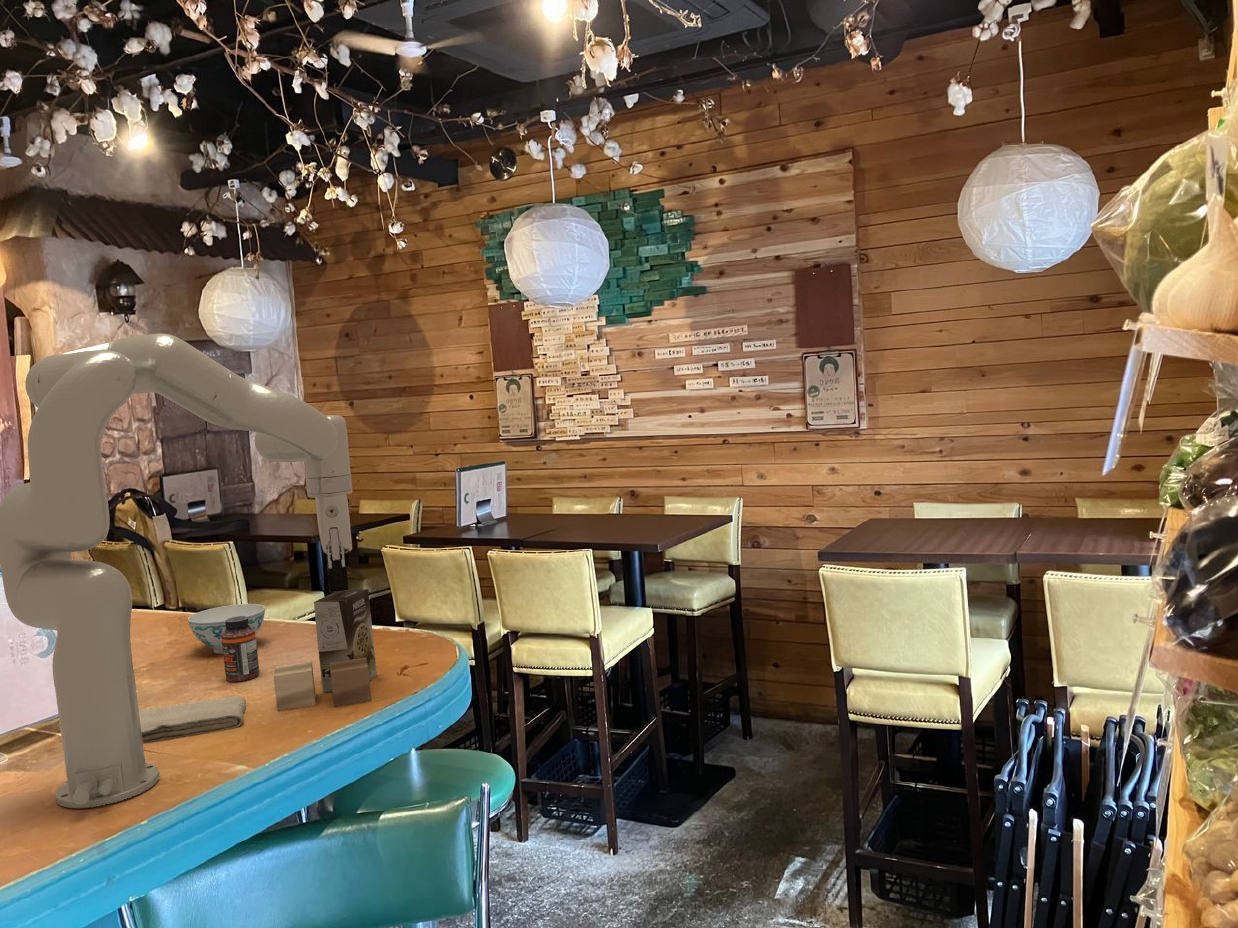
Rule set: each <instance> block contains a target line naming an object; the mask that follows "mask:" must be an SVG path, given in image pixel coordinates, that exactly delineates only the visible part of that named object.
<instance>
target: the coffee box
mask: <svg viewBox="0 0 1238 928" xmlns="http://www.w3.org/2000/svg"><path fill="white" fill-rule="evenodd" d="M369 595H370V594H369V589H368V588H367V589H363V588H362V589H360V588H359V589H348V590H344V591H336V592H331V593H330V594H328V595H326V596H324V597H321V598H319V599H318V600H317V599H316V601H313V607H314V609H313V610H314V618H315V630H316V637H317V650H318V658H319V668H320V669H319V670H320V677H321V678H320V679H321V689H322V692H333V691H332V682H331V673H330V663H333V662H339V661H346V660H352V659H359V658H365V657H366V658H367V664H368V672H369V682H370V681H371V680H373V679H374V678H375V677H376V676H377V674H378V673H377V672H378V671H377V662H376V653H375V645H374V642H375V641H374V634H373V623H372V615H371V603H370V596H369Z"/></svg>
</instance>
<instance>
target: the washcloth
mask: <svg viewBox="0 0 1238 928" xmlns="http://www.w3.org/2000/svg"><path fill="white" fill-rule="evenodd" d="M246 701H247V700H246V698H245V697H244V696H229V697H228V696H227V697H224V698H223V697H221V698H217V699H215V698H214V699H204V700H198V701H193V702H186V703H178V704H174V705H167V706H161V707H153V708H147V709H141V710H139V716H140V723H141V731H142V739H143V742H145V743H152V742H157V741H158V742H159V741H164V740H170V739H177V738H183V737H189V736H194V735H200V734H206V733H211V732H218V731H219V732H220V731H225V730H232V729H237V728H239V727H240V726H241V725H242V724H243V723H244V719H245V718H244V714H245V711H246V704H247V702H246Z"/></svg>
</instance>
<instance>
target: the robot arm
mask: <svg viewBox="0 0 1238 928" xmlns="http://www.w3.org/2000/svg"><path fill="white" fill-rule="evenodd" d="M24 383H25V384H24V385H25V387H24V388H25V390H26V391H25V392H26V395H27V397H28V398H29V401H31V403H32V404H33V405H34V406H35V407H37V409H36V412H35V414H34V415H33V417H32V420H31V424H30V426H29V430H28V435H27V459H28V472H29V481H30V482H26V483H24V484H20V485H18V486H16V487H14V488H12V489H11V490H10V491H8V492H7V493H6V494H5V496H4V497H3V499H2V500H1V502H0V572H1V579H2V586H3V592H4V596H5V600H6V603H7V605H8V608H9V610H10V612H11V613H12V615H13V616H14V618H15V619H17V620H18V621H20V623H22V624H24V625H26V626H29V627H31V628H35V629H41V630H42V629H43V630H52V631H56V633H57V634H56V641H55V646H54V650H53V653H52V654H53V655H52V664H51V665H52V679H53V686H54V689H55V690H54V691H55V698H56V705H57V707H56V708H57V712H58V714H57V715H58V720H59V728H60V736H61V744H62V750H63V758H64V765H65V773H66V779H67V781H66V782H64V783H63V784H62V785H61V786H60V787H58V789H57V790H56V792H55V798H56V803H57V804H58V805H59V806H61V807H65V808H68V809H69V808H70V809H88V808H89V807H90V808H96V806H97V807H102V806H101V805H103V806H106V805H105V804H108V805H110V803H111V804H115V803H118V801H119V802H121V801H124V799H125V800H127V798H128V799H130V798H133V797H136V796H137V795H139V794H143V793H144V792H145V791H147V790H149V789H151V788H152V787H153V786H155V785H156V784H157V782H158V781H159V779H160V776H161V775H160V769H159V767H158V766H157V765H155V764H153V763H149V762H146V757H145V749H144V743H143V739H142V731H141V723H140V716H139V711H140V710H139V709H140V708H139V701H138V694H137V693H138V692H137V687H136V685H137V684H136V679H135V678H136V677H135V670H134V664H133V663H134V661H133V654H132V642H131V624H132V623H131V621H132V609H133V595H132V588H131V585H130V583H129V580H128V579H127V577H125V575H124V574H123V573H122V572H121V571H120V570H119V569H117V568H116V567H114V566H112V565H110V564H107V563H104V562H101V561H95V560H79V559H77V560H76V559H73V557H72V553H75V552H84V551H89V550H92V549H93V548H96V547H98V546H99V545H100V544H102V542H104V540H105V539H106V537H107V535H108V533H109V530H110V518H111V517H110V510H109V509H110V508H109V503H108V495H107V488H106V481H105V475H104V467H103V459H102V458H103V457H102V454H103V453H102V440H103V435H104V433H105V429H106V427H107V425H108V423H109V422H110V420H111V419H112V418H113V417H114V415H115V414H116V412H117V411H118V410H120V409H121V408H122V407H123V406H124V405H125V404H126V403H127V402H128V401H129V400H130V399H131V396H132V395H137V394H138V395H139V394H146V393H147V394H148V393H153V394H154V393H155V394H157V395H160V396H162V397H164V398H165V399H167V400H169V401H171V402H173V403H174V404H176V405H178V406H179V407H181V408H183V409H185V410H187V411H188V412H190V413H192V414H193V415H195V416H196V417H198V418H200V419H202V420H204V421H205V422H207V423H210V424H212V425H215V426H219V427H222V428H227V429H232V430H239V431H246V432H247V431H248V432H253V433H255V435H254V447H255V449H256V451H257V452H258V454H259V455H260V456H261V457H263V458H264V459H265V460H268V461H271V462H274V463H299V462H301V463H302V462H304V470H305V481H306V482H305V483H306V491H307V493H306V494H307V497H308V498H314V500H315V510H316V517H317V518H316V520H317V527H318V533H319V538H320V539H319V540H320V544H321V547H322V551H323V554H327V563H328V567H327V577H328V588H329V592H330V593H334V592H336V591H346V590H349V579H348V569H347V565H346V563H345V551H344V550H348V552H351V551H352V550H353V542H352V533H351V531H352V530H351V520H350V519H351V518H350V509H349V502H348V497H347V495H349V494H352V493H353V483H352V474H351V473H352V472H351V471H352V470H351V461H350V449H349V439H348V438H349V437H348V430H347V429H348V428H347V427H348V426H347V421H346V419H345V418H344V417H343V416H342V415H338V414H328V415H327V414H326V415H325V414H324V413H322V412H321V411H320V410H318V409H317V408H315V407H314V406H312V405H311V404H309V403H307V402H306V401H304V400H303V399H300V398H298V397H296V396H294V395H291V394H289V393H287V392H284V391H281V390H279V389H275V388H273V387H269V386H268V385H267V386H266V385H264V384H263V383H259V382H256V381H255V380H251V379H247V378H244V377H242V376H240V375H239V374H237V373H235V372H234V371H232V370H230V368H227V367H226V366H224V365H222V364H220V362H217V361H216V360H214V359H213V358H212V357H210V356H208V355H206V354H205V353H204V352H202V351H200V350H199V349H197V348H196V347H194V346H192V344H189V343H188V342H186V340H183V339H181V338H180V337H177V336H175V335H174V334H173V335H172V334H169V333H150V334H145V335H144V334H143V335H134V336H128V337H123V338H120V339H119V338H118V339H114V340H111V341H107V342H104V343H103V342H102V343H100V344H96V345H92V346H91V345H90V346H86V347H82V348H78V349H74V350H69V351H65V352H61V353H55V354H52V355H47V356H45V357H43V358H41V359H39V360H37V361H36V362H35V363H34V364H33V365H32V366H31V367H30V369H29V370H28V372H27V374H26V377H25V382H24ZM132 796H133V797H132ZM90 808H89V809H90Z"/></svg>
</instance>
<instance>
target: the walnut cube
mask: <svg viewBox="0 0 1238 928" xmlns="http://www.w3.org/2000/svg"><path fill="white" fill-rule="evenodd" d="M330 673H331V682H332V691H331V692H332V699H333V707H334V708H339V707H340V708H341V707H344V706H350V705H357V704H363V703H368V702H372V692H371V682H370V681H369V672H368V664H367V658H366V657H365V658H359V659H352V660H346V661H339V662H333V663H330Z"/></svg>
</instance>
